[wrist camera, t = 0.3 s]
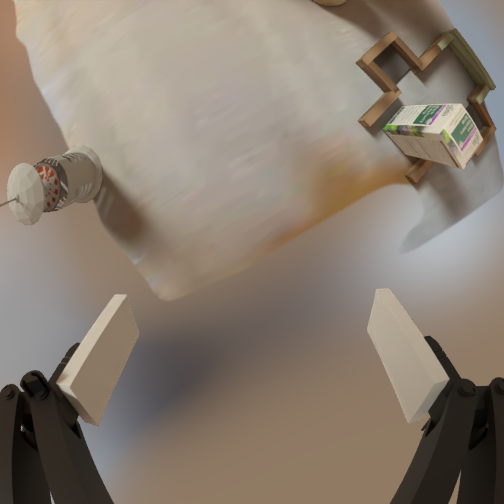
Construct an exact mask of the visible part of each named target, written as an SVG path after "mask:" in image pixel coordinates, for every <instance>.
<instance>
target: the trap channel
mask: <svg viewBox="0 0 504 504" xmlns="http://www.w3.org/2000/svg"><path fill="white" fill-rule="evenodd" d="M447 45H449V47H450V48H451V49H452V51H453V52H454V53H455V54H456V56H457V57H458V58H459V60H460V61H461V63H462V64H463V65H464V67H465V68H466V70H467V71H468V73H469V74H470V76H471V77H472V79H473V80H474V82H475V83H476V85H477V86H476V87H475V89H474V90H473V91H472V93H471V94H470V95H469V97H468V98H467V100H468V102H469V106H468V107H467V108H466V111H467V112H468V114H469V115H470V117H471V118H472V120H473V121H474V123H475V125H476V127H477V128H478V130H480V129H481V130H480V131H479V132H480V134H481V136H482V138H483V141H482V143H481V144H480V146H479V147H478V149H477V151H476V152H475V154H474V155H473V156H477V157H478V156H479V154H480V153H481V151H482V150H483V148H484V147H485V146H486V144H487V143H488V141H489V140H490V138H491V137H492V135H493V134H494V132H495V131H496V127H495V125H494V123H493V121H492V119H491V117H490V116H489V114H488V112H487V110H486V108H485V107H484V105H483V103H482V101H483V100H484V98H485V97H486V95H487V94H488V92H489V91H490V90H494V89H495V88H496V86H495V85H494V83H493V81H492V79H491V78H490V76H489V75H488V73H487V71H486V70H485V68H484V67H483V65H482V63H481V62H480V60H479V59H478V57H477V56H476V55H475V53H474V52H473V50H472V49H471V48H470V46H469V45H468V44H467V42H466V41H465V39H464V38H463V37H462V36H461V34H460V33H459V32H458V30H457V29H456V28H455V29H453V30H450V31H447V32H445V33H443V34H442V35H441V36H440V37H439V38H438V39H437V40H436V41H435V42H434V43H433V44H432V45H431V46H430V47H429V48H428V49H427V50H426V51H425V52H424V53H423V54H422V55H421V56H420V57H419V58H417V56H416V55H415V54H414V53H413V52H412V51H411V50H410V49H409V48H408V46H407V45H406V44H405V43H404V42H403V41H402V40H401V39H400V38H399V37H398V36H397V35H396V34H395V33H394V32H393V31H391V32H390V33H388V34H386V35H385V36H384V37H383V38H382V39H381V40H379V41H378V42H377V43H376V44H375V45H374V46H373V47H372V48H371V49H370V50H368V51H367V52H366V53H365V54H364V55H363V56H362V57H361V58H360V59H359V60H358V61H357V62H356V64H357V65H358V66H359V67H360V68H361V69H362V70H363V71H364V72H365V73H366V74H367V75H368V76H369V77H370V78H371V79H372V80H373V81H374V82H375V83H376V84H377V85H378V86H379V87H380V88H381V89H382V90H383V91H384V92H385V93H384V94H383V95H382V96H381V97H380V98H379V99H378V100H377V102H376V103H375V104H374V105H373V106H372V107H371V108H370V109H369V110H368V111H367V112H366V113H365V114H364V115H363V116H362V117H361V118H360V119H359V120H358V121H359V123H360V124H361V125H362V126H363V127H370V126H371V125H372V124H373V123H374V122H375V121H376V120H377V119H378V118H379V117H380V116H381V115H382V114H383V113H384V111H385V110H386V109H387V108H388V107H389V106H390V105H391V104H392V103H393V102H394V101H395V100H396V99H397V98H398V96H399V95H400V94H401V93H402V92H401V91H400V89H399V88H398V87H397V86H396V85H395V83H396V82H397V81H398V80H399V79H400V78H401V77H402V76H403V75H404V74H405V73H406V72H407V71H408V70H409V69H411V70H412V72H413V73H417V72H421V71H423V70H424V69H425V68H426V67H427V65H428V64H429V63H430V62H431V61H432V60H433V59H434V58H435V57H436V56H437V55H438V54H439V53H440V52H441V51H442V50H443V49H444V48H445V47H446V46H447ZM374 58H375V59H374ZM373 59H374V60H373ZM372 60H373V61H372ZM482 126H483V127H482ZM481 127H482V128H481ZM433 163H434V161H430V160H426V159H422V158H418V160H417V161H416V162H415V163H414V164H413V165H412V167H411V168H410V169H409V170H408V171H407V172H406V173H405V174H404V175H405V176H406V178H407V179H408V180H409V181H412V182H414V183H417V182H418V181H419V180H420V178H421V177H422V176H423V175H424V174H425V173H426V171H427V170H428V169H429V168H430V167H431V165H432V164H433Z"/></svg>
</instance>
